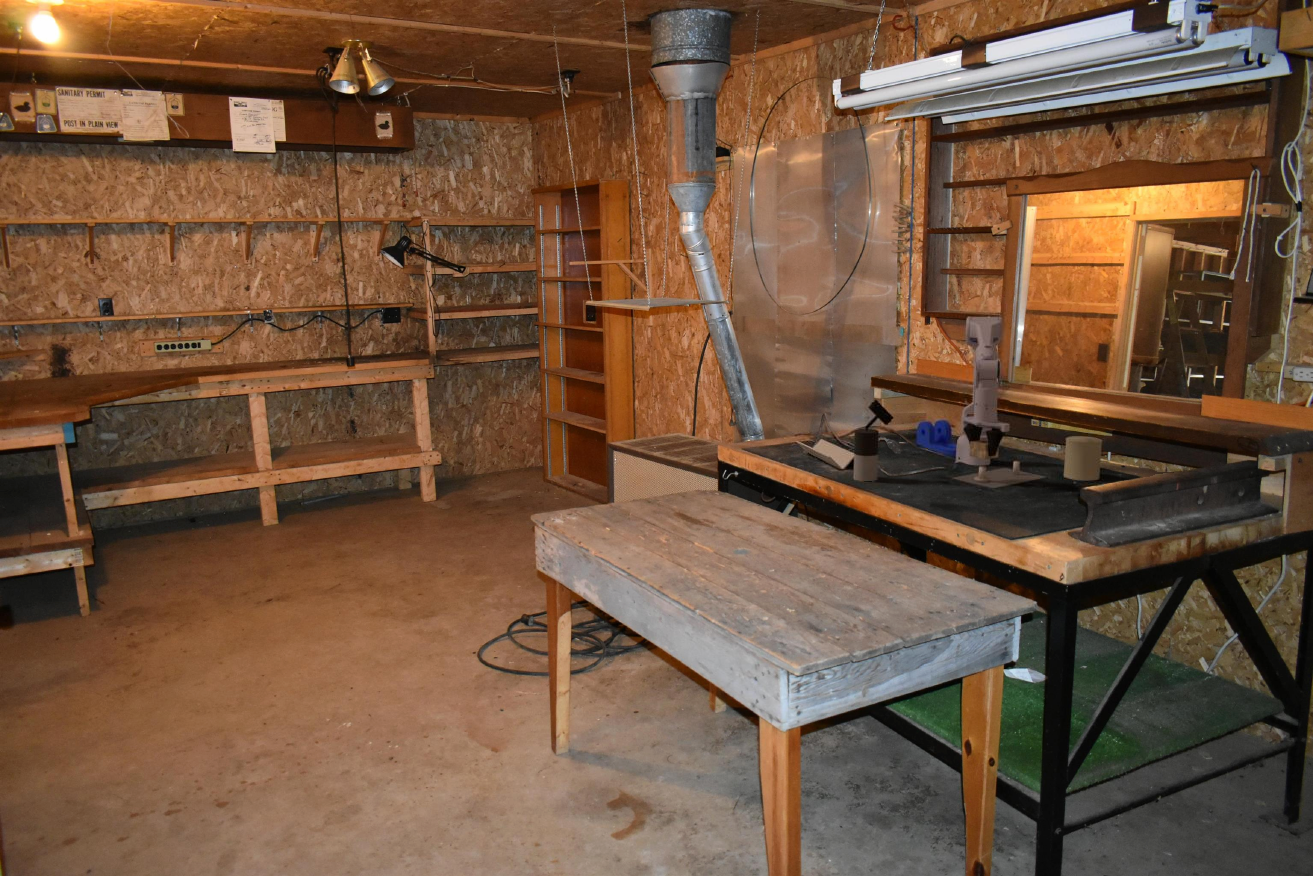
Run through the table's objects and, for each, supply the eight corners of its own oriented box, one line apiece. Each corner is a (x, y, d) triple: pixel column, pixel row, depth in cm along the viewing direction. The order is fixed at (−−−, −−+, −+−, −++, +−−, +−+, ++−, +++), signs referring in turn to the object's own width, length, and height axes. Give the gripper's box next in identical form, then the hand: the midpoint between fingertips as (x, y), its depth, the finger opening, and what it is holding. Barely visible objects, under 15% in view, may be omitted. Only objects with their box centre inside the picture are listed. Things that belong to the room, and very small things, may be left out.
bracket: (916, 447, 303) (917, 420, 302) (938, 445, 306) (939, 418, 304) (949, 457, 286) (950, 429, 285) (972, 455, 289) (973, 427, 287)
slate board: (951, 481, 256) (952, 464, 255) (1004, 471, 267) (1005, 454, 266) (992, 491, 244) (993, 474, 243) (1046, 480, 255) (1047, 463, 254)
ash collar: (969, 456, 251) (970, 441, 251) (982, 453, 254) (983, 439, 253) (985, 459, 247) (986, 444, 246) (998, 457, 250) (999, 442, 249)
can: (1078, 485, 249) (1081, 441, 247) (1055, 477, 258) (1058, 435, 256) (1107, 482, 252) (1110, 439, 249) (1083, 475, 260) (1086, 433, 258)
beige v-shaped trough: (820, 465, 298) (833, 451, 298) (855, 483, 274) (869, 467, 274) (796, 441, 294) (809, 427, 294) (828, 457, 270) (843, 441, 271)
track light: (869, 492, 258) (918, 440, 258) (829, 453, 254) (879, 400, 253) (860, 487, 264) (908, 436, 264) (821, 448, 260) (870, 396, 260)
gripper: (954, 402, 252) (952, 451, 254) (997, 409, 239) (995, 460, 242) (971, 400, 255) (969, 448, 258) (1016, 406, 243) (1013, 457, 246)
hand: (983, 454), depth 250 cm, fingers closed on ash collar, 5 cm apart
